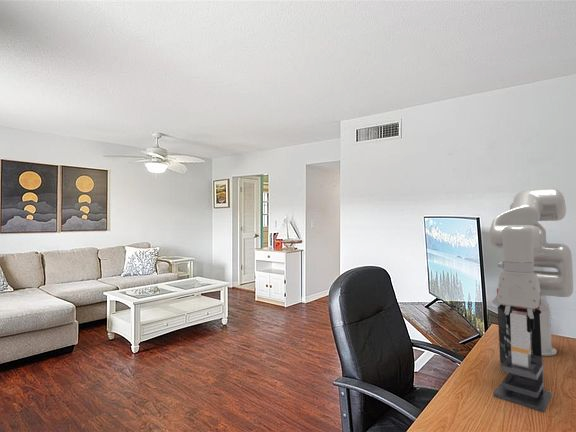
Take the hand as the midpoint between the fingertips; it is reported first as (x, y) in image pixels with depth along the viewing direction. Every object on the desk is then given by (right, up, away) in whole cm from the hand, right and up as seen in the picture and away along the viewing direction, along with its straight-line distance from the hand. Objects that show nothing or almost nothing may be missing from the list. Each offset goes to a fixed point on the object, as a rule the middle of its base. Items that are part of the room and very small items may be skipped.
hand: (520, 328), depth 99 cm
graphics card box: (+9, -20, +14) cm, 26 cm away
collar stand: (0, -20, 0) cm, 20 cm away
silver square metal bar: (0, -10, 0) cm, 10 cm away
